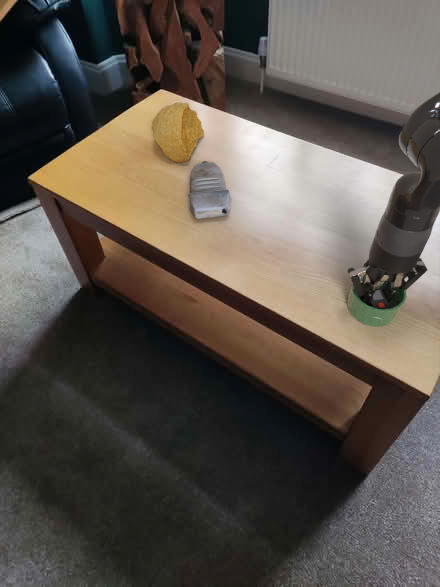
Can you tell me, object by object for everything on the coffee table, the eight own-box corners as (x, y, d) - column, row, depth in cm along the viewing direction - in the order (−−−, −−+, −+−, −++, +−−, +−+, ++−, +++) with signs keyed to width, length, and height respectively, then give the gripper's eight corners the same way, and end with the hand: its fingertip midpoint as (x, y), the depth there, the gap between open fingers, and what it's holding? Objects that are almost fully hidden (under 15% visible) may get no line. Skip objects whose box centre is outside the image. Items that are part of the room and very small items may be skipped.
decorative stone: (132, 143, 113) (152, 116, 100) (162, 109, 119) (185, 78, 106) (169, 178, 117) (194, 156, 104) (197, 143, 123) (223, 117, 110)
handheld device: (223, 165, 110) (223, 150, 106) (233, 219, 97) (233, 204, 94) (186, 169, 109) (184, 154, 106) (191, 224, 97) (189, 208, 93)
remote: (359, 290, 83) (362, 282, 81) (374, 288, 83) (377, 279, 81) (372, 320, 78) (376, 312, 76) (388, 317, 79) (392, 309, 77)
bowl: (387, 283, 84) (394, 266, 80) (406, 322, 79) (415, 306, 75) (340, 290, 84) (345, 273, 80) (356, 330, 78) (362, 314, 74)
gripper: (365, 261, 64) (343, 325, 78) (455, 248, 65) (418, 313, 79) (348, 226, 69) (331, 292, 82) (433, 215, 69) (401, 282, 83)
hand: (374, 302), depth 80 cm, fingers closed on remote, 3 cm apart
